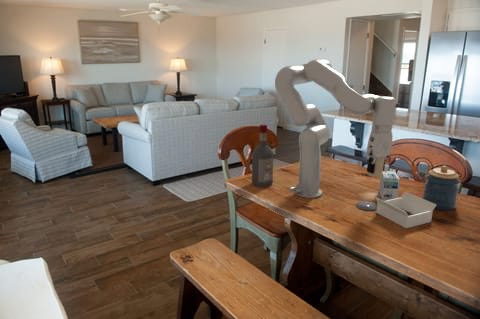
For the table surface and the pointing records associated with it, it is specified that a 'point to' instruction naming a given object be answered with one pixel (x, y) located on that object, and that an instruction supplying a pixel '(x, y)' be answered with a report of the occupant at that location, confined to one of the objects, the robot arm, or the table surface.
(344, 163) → the table surface
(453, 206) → the canister
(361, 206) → the grey ellipsoid
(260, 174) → the liquor
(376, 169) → the candle
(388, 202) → the white open box
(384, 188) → the light bulb box
